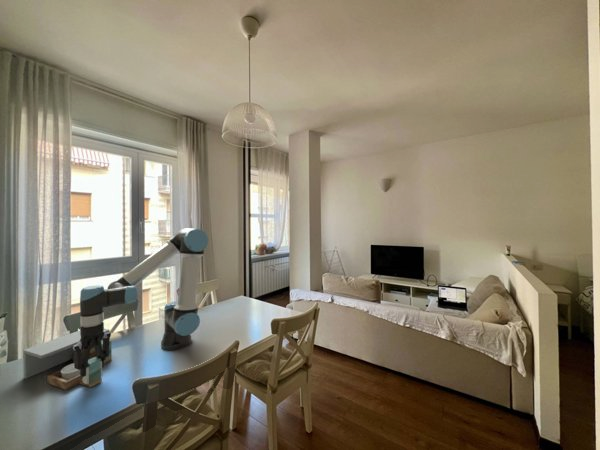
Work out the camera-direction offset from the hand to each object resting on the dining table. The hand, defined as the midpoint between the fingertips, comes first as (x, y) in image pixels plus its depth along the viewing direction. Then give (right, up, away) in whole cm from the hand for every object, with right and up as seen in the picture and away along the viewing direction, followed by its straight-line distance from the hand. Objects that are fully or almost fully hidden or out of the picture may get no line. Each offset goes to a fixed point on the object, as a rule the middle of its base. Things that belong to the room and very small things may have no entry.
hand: (92, 379), depth 103 cm
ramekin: (-12, -2, +5) cm, 13 cm away
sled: (-7, -2, +3) cm, 8 cm away
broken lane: (-15, -2, +19) cm, 24 cm away
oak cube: (-19, -2, +20) cm, 28 cm away
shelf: (-22, -2, +14) cm, 26 cm away
